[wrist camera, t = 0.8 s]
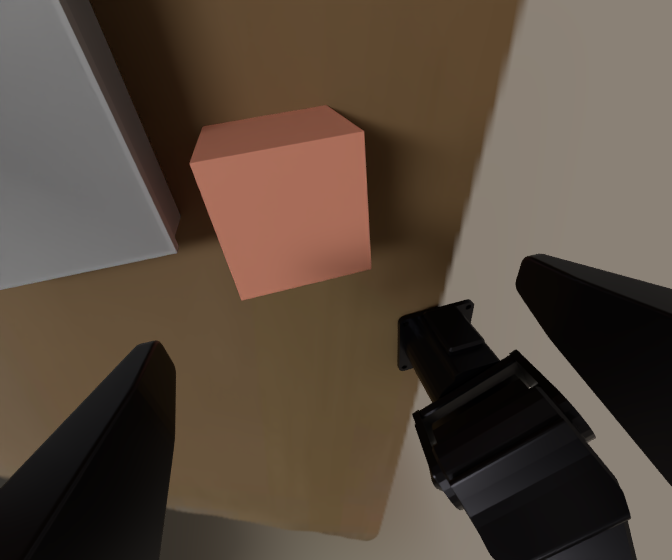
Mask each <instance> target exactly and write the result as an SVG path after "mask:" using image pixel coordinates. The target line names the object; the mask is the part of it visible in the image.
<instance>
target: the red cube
mask: <svg viewBox="0 0 672 560" xmlns="http://www.w3.org/2000/svg"><path fill="white" fill-rule="evenodd" d="M189 164H190V166H191V169H192V171H193V174H194V177H195V179H196V182H197V185H198V187H199V190H200V192H201V195H202V198H203V200H204V203H205V206H206V208H207V211H208V213H209V216H210V219H211V221H212V224H213V227H214V229H215V232H216V234H217V237H218V240H219V242H220V245H221V247H222V250H223V253H224V255H225V258H226V261H227V263H228V266H229V268H230V271H231V274H232V276H233V279H234V282H235V284H236V287H237V289H238V292H239V295H240V297H241V300H246V299H250V298H254V297H258V296H262V295H266V294H270V293H274V292H278V291H283V290H287V289H291V288H295V287H299V286H303V285H307V284H311V283H316V282H320V281H324V280H328V279H332V278H336V277H340V276H344V275H349V274H353V273H357V272H361V271H365V270H369V269H371V252H370V233H369V215H368V196H367V177H366V158H365V140H364V131H363V130H362V129H360V128H359V127H357V126H356V125H354V124H353V123H351V122H350V121H349V120H347V119H346V118H344V117H343V116H341V115H340V114H338V113H337V112H336V111H334V110H333V109H331V108H330V107H328V106H327V105H325V106H319V107H313V108H307V109H301V110H295V111H290V112H284V113H278V114H272V115H266V116H260V117H254V118H249V119H243V120H237V121H231V122H225V123H219V124H213V125H208V126H203V127H202V130H201V133H200V135H199V138H198V141H197V144H196V147H195V149H194V152H193V155H192V158H191V160H190V163H189Z"/></svg>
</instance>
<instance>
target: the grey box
mask: <svg viewBox="0 0 672 560" xmlns="http://www.w3.org/2000/svg"><path fill="white" fill-rule="evenodd" d="M180 218H181V215H180V213H179V211H178V208H177V206H176V204H175V201H174V199H173V197H172V194H171V192H170V190H169V187H168V185H167V183H166V180H165V178H164V175H163V173H162V171H161V168H160V166H159V164H158V161H157V159H156V157H155V154H154V152H153V150H152V147H151V145H150V143H149V140H148V138H147V136H146V133H145V131H144V128H143V126H142V124H141V121H140V119H139V117H138V114H137V112H136V110H135V107H134V105H133V103H132V100H131V98H130V96H129V93H128V91H127V89H126V86H125V84H124V81H123V79H122V77H121V74H120V72H119V70H118V67H117V65H116V63H115V60H114V58H113V56H112V53H111V51H110V49H109V46H108V44H107V42H106V39H105V37H104V35H103V32H102V30H101V27H100V25H99V23H98V20H97V18H96V16H95V13H94V11H93V9H92V6H91V4H90V2H89V0H0V290H2V289H7V288H11V287H16V286H21V285H26V284H31V283H35V282H40V281H45V280H50V279H55V278H59V277H64V276H69V275H74V274H79V273H84V272H88V271H93V270H98V269H103V268H108V267H112V266H117V265H122V264H127V263H132V262H136V261H141V260H146V259H151V258H156V257H160V256H165V255H170V254H175V253H177V252H178V248H179V246H178V243H177V241H176V239H175V234H176V231H177V228H178V224H179V221H180Z"/></svg>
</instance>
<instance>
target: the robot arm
mask: <svg viewBox="0 0 672 560" xmlns="http://www.w3.org/2000/svg"><path fill="white" fill-rule="evenodd" d="M516 289H517V291H518V293H519V294H520V295H521V297H522V299H523V300H524V302H525V303H526V305H527V306H528V308H529V309H530V311H531V312H532V314H533V315H534V317H535V318H536V319H537V321H538V322H539V324H540V326H541V327H542V328H543V330H544V331H545V333H546V334H547V335H548V337H549V338H550V340H551V341H552V342H553V343H554V345H555V346H556V347H557V348H558V350H559V351H560V352H561V353H562V354H563V356H564V357H565V358H566V359H567V360H568V362H569V363H570V364H571V365H572V366H573V368H574V369H575V370H576V371H577V373H578V374H579V375H580V376H581V377H582V379H583V380H584V381H585V382H586V383H587V385H588V386H589V387H590V388H591V390H592V391H593V392H594V393H595V394H596V396H597V397H598V398H599V399H600V400H601V402H602V403H603V404H604V405H605V406H606V408H607V409H608V410H609V411H610V412H611V414H612V415H613V416H614V417H615V419H616V420H617V421H618V422H619V423H620V425H621V426H622V427H623V428H624V429H625V430H626V432H627V433H628V434H629V436H630V437H631V438H632V439H633V440H634V442H635V443H636V444H637V445H638V446H639V448H640V449H641V450H642V451H643V452H644V454H645V455H646V456H647V457H648V458H649V460H650V461H651V462H652V463H653V465H654V466H655V467H656V468H657V469H658V471H659V472H660V473H661V474H662V475H663V477H664V478H665V479H666V480H667V481H668V483H669V484H670V485H671V486H672V289H670V288H666V287H662V286H659V285H655V284H652V283H647V282H644V281H641V280H637V279H633V278H629V277H625V276H622V275H618V274H615V273H611V272H607V271H603V270H600V269H596V268H593V267H589V266H585V265H582V264H578V263H574V262H571V261H567V260H563V259H559V258H555V257H552V256H549V255H545V254H536V255H531V256H527V257H525V258H524V259H523V260H522V263H521V266H520V269H519V273H518V276H517V279H516ZM473 308H474V303H473V302H472V301H471V300H469V299H468V300H463V301H460V302H456V303H452V304H448V305H444V306H441V307H437V308H433V309H429V310H426V311H422V312H418V313H414V314H411V315H407V316H403V317H401V318H400V319H399V320H398V368H399V370H401V371H405V370H408V369H411V368H414V370H415V372H416V374H417V376H418V378H419V379H420V381H421V383H422V385H423V387H424V388H425V390H426V392H427V394H428V396H429V397H430V399H431V401H432V403H431V404H430V405H428V406H426V407H425V408H423V409H422V410H420V411H419V410H418V411H416V412H414V413H413V414H412V415H413V418H414V420H415V428H416V431H417V434H418V436H419V439H420V442H421V445H422V448H423V451H424V454H425V457H426V459H427V462H428V465H429V470H430V474H431V479H432V482H433V484H434V486H435V487H436V488H437V489H439V490H441V491H443V492H444V493H445V494H446V495H447V497H448V498H449V500H450V501H451V502H452V503H453V505H454V506H455V507H456V508H458V509H459V510H463V509H464V510H465V511H466V513H467V514H468V516H469V518H470V519H471V521H472V523H473V524H474V526H475V528H476V529H477V531H478V533H479V534H480V536H481V538H482V540H483V542H484V544H485V546H486V548H487V550H488V552H489V553H490V555H491V556H492V557H493V558H494V559H495V560H637V558H636V554H635V550H634V546H633V542H632V537H631V533H630V529H629V524H628V520H629V519H631V516H630V512H629V509H628V505H627V502H626V499H625V496H624V493H623V491H622V489H621V488H620V486H619V483H618V481H617V479H616V478H615V476H614V475H613V474H612V472H611V471H610V470H609V469H608V468H607V466H606V465H605V464H604V463H603V462H602V460H601V459H600V458H599V457H598V455H597V454H596V453H595V452H594V451H593V449H592V448H591V447H590V446H589V445H588V442H590V441H591V440H593V439H595V438H596V437H595V435H594V433H593V431H592V430H591V428H590V427H589V425H588V424H587V423H586V422H585V420H584V419H583V418H582V417H581V415H580V414H579V413H578V412H577V410H576V409H575V408H574V407H573V406H572V405H571V404H570V402H569V401H568V400H567V399H566V398H565V397H564V396H563V395H562V394H561V393H560V392H559V391H558V390H557V388H556V387H554V386H553V385H552V384H551V383H550V382H549V381H548V380H547V379H546V378H545V377H544V376H543V375H542V374H541V373H540V372H539V371H538V370H537V369H536V368H535V367H534V366H533V365H532V364H531V363H530V362H529V361H528V360H527V359H526V358H525V357H524V356H522V354H521V353H520V352H519V351H517V350H514V351H513V352H511V353H509V354H510V355H509V356H507V357H506V358H504V359H502V360H501V361H500V360H499V359H498V358H497V356H496V355H495V354H494V353H493V351H492V350H491V349H490V348H489V347H488V346H487V344H486V343H485V342H484V339H483V338H482V336H481V335H480V334H479V333H478V332H477V331H476V329H475V328H474V327H473V326H472V325H471V318H472V313H473ZM404 322H405V323H404ZM529 387H531V388H529ZM175 407H176V370H175V366H174V364H173V362H172V360H171V359H170V357H169V355H168V353H167V352H166V350H165V348H164V347H163V345H162V344H161V343H160V342H159V341H151V342H147V343H142V344H139V345H137V346H136V347H135V348H134V349H133V350H132V351H131V352H130V353H129V354H128V355H127V356H126V357H125V358H124V359H123V360H122V361H121V362H120V363H119V365H118V366H117V367H116V368H115V369H114V370H113V371H112V372H111V373H110V374H109V375H108V376H107V377H106V378H105V379H104V380H103V381H102V382H101V383H100V384H99V385H98V387H97V388H96V389H95V390H94V391H93V392H92V393H91V394H90V395H89V396H88V397H87V398H86V399H85V400H84V401H83V402H82V403H81V404H80V405H79V406H78V407H77V409H76V410H75V411H74V412H73V413H72V414H71V415H70V416H69V417H68V418H67V419H66V420H65V421H64V422H63V423H62V424H61V425H60V426H59V427H58V428H57V429H56V430H55V432H54V433H53V434H52V435H51V436H50V437H49V438H48V439H47V440H46V441H45V442H44V443H43V444H42V445H41V446H40V447H39V448H38V449H37V450H36V451H35V452H34V454H33V455H32V456H31V457H30V458H29V459H28V460H27V461H26V462H25V463H24V464H23V465H22V466H21V467H20V468H19V469H18V470H17V471H16V472H15V473H14V474H13V476H12V477H11V478H10V479H9V480H8V481H7V482H6V483H5V484H4V485H3V486H2V487H1V488H0V560H159V557H160V550H161V542H162V534H163V527H164V519H165V511H166V504H167V496H168V489H169V481H170V474H171V466H172V459H173V451H174V442H175Z"/></svg>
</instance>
